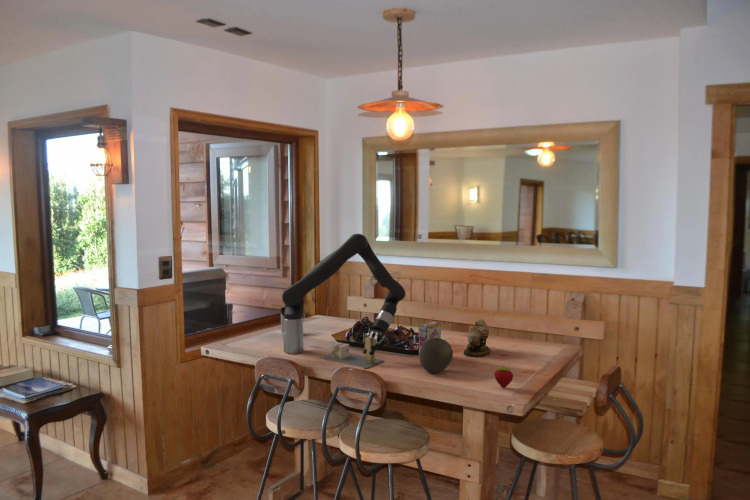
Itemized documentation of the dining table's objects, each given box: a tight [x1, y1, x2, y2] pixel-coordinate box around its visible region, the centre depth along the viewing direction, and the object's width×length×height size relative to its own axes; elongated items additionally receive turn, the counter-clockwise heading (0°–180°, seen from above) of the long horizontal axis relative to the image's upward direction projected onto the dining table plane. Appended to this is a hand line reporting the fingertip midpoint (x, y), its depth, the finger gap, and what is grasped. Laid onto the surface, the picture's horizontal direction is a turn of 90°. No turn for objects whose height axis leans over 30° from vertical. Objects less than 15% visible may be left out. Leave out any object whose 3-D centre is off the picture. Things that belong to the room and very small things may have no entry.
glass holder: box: [280, 306, 306, 337], centre depth 321 cm, size 9×14×15 cm, turn 107°
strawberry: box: [493, 364, 514, 389], centre depth 225 cm, size 6×8×10 cm
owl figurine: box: [463, 318, 491, 358], centre depth 277 cm, size 18×12×17 cm, turn 150°
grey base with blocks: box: [320, 337, 385, 370], centre depth 267 cm, size 28×14×12 cm, turn 53°
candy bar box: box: [418, 321, 442, 360], centre depth 270 cm, size 11×5×16 cm, turn 134°
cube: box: [330, 342, 350, 359], centre depth 271 cm, size 6×6×6 cm
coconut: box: [419, 337, 454, 374], centre depth 247 cm, size 14×14×15 cm
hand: (367, 353), depth 259 cm, fingers closed on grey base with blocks, 3 cm apart
